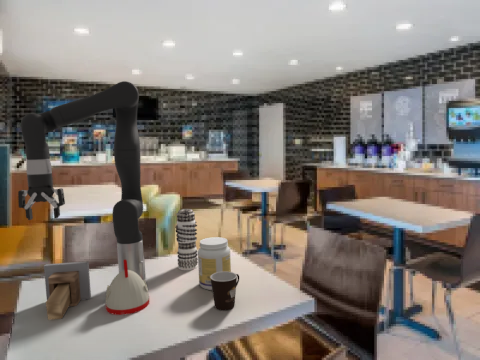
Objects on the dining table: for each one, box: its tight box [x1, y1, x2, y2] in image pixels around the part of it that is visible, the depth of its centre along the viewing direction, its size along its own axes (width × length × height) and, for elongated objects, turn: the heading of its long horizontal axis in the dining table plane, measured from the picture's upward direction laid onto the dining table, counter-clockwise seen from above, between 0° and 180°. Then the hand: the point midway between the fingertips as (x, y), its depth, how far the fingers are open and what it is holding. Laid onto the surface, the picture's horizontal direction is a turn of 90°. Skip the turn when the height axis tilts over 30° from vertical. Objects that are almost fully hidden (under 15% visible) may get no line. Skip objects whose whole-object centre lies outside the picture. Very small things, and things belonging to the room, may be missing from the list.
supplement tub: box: [197, 236, 232, 291], centre depth 134 cm, size 12×12×17 cm
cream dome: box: [105, 260, 150, 316], centre depth 119 cm, size 14×14×15 cm
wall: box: [43, 261, 92, 301], centre depth 124 cm, size 14×2×13 cm, turn 98°
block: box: [48, 271, 82, 308], centre depth 121 cm, size 8×5×10 cm, turn 98°
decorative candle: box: [175, 208, 198, 271], centre depth 153 cm, size 9×9×25 cm
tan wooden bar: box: [45, 282, 72, 321], centre depth 116 cm, size 4×12×6 cm, turn 9°
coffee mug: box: [210, 271, 240, 311], centre depth 117 cm, size 12×9×10 cm
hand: (43, 218), depth 125 cm, fingers open, 8 cm apart
